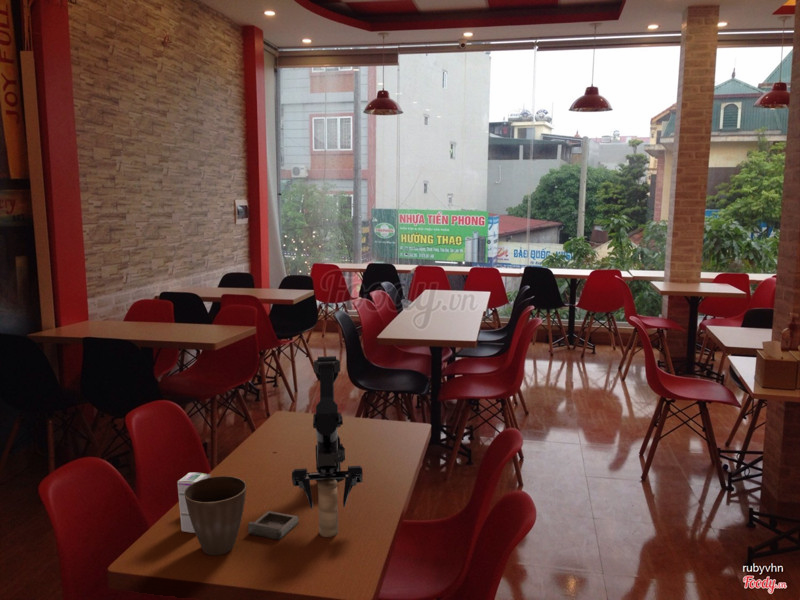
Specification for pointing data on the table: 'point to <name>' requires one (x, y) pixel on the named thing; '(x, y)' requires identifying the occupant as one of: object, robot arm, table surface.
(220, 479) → the plant pot
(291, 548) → the table surface
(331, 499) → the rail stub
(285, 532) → the grey tray
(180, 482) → the syrup box
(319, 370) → the robot arm
